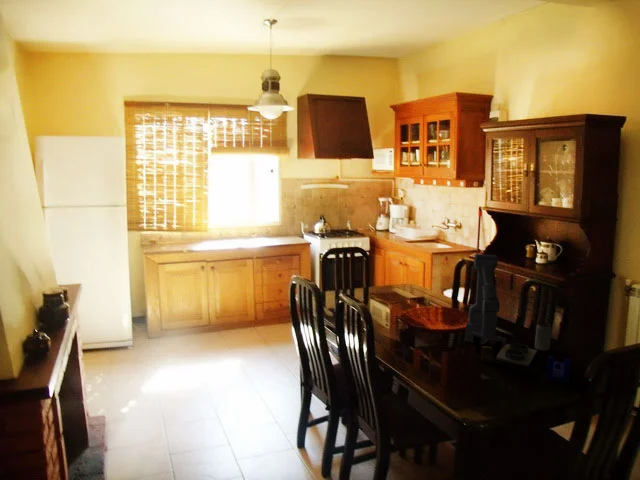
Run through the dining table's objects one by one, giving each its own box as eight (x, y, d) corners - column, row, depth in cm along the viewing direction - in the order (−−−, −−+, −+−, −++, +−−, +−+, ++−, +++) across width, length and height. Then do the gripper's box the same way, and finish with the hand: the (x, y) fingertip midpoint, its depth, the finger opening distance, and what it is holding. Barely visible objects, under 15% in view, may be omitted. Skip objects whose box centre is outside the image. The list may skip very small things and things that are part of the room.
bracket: (568, 384, 214) (570, 362, 212) (546, 379, 217) (548, 359, 216) (568, 367, 230) (570, 347, 229) (547, 364, 233) (549, 344, 232)
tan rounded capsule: (479, 361, 234) (480, 348, 233) (482, 358, 238) (483, 345, 237) (489, 363, 232) (491, 350, 231) (492, 360, 236) (493, 347, 235)
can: (550, 351, 247) (553, 327, 245) (535, 350, 248) (538, 326, 246) (547, 346, 253) (550, 322, 251) (533, 345, 255) (535, 321, 252)
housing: (495, 359, 237) (496, 352, 236) (506, 345, 253) (506, 339, 253) (528, 366, 230) (529, 360, 229) (537, 352, 246) (537, 346, 246)
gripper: (469, 325, 232) (467, 354, 235) (504, 331, 225) (501, 362, 227) (474, 320, 238) (472, 349, 241) (507, 327, 231) (505, 356, 233)
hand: (486, 355), depth 234 cm, fingers open, 7 cm apart
